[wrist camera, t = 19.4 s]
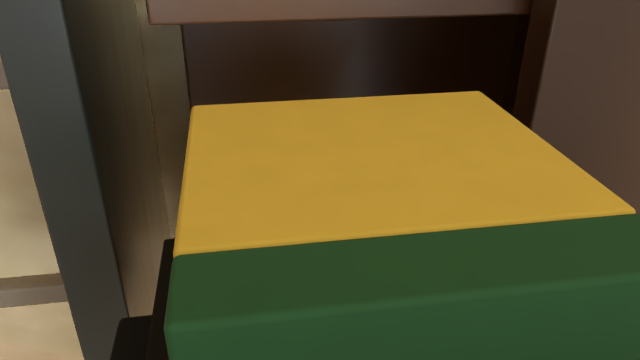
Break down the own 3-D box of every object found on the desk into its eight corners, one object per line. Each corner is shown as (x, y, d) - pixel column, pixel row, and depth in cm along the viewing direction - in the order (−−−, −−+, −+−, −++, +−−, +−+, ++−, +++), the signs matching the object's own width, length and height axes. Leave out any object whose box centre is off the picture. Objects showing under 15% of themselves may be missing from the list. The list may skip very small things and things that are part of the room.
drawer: (2, 281, 20) (-104, 469, 13) (-124, -85, 14) (-411, -63, 8) (482, 237, 22) (587, 377, 16) (539, -86, 17) (737, -70, 10)
